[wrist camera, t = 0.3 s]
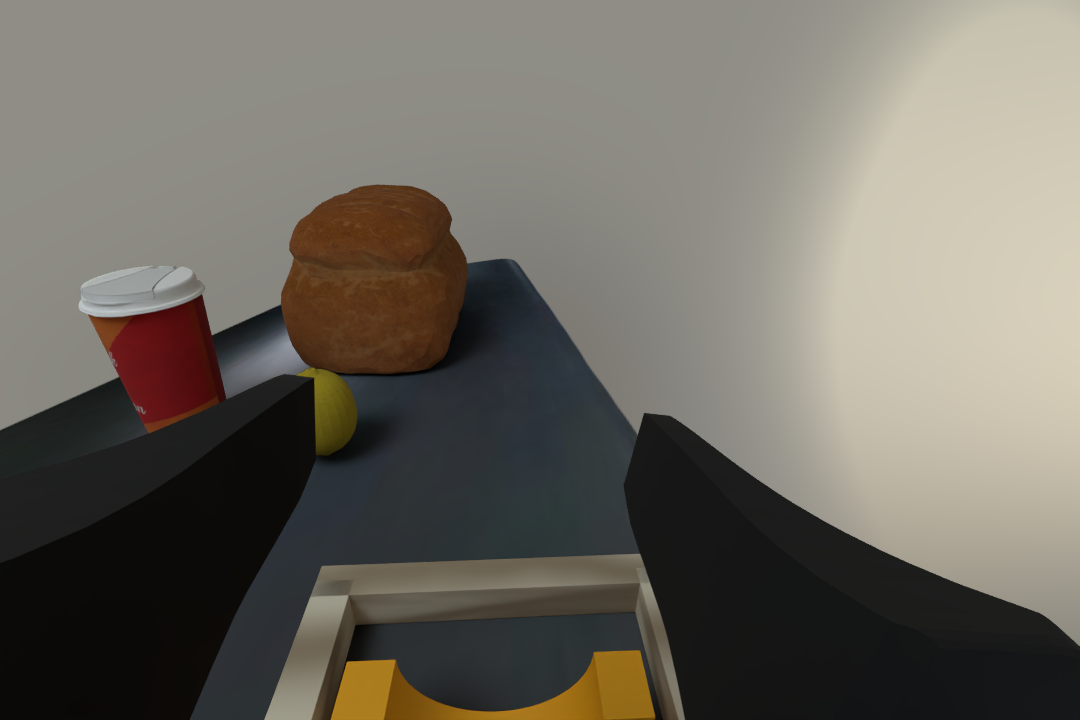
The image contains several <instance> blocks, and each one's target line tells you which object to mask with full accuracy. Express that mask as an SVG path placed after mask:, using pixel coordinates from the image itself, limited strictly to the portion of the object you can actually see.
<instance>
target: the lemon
mask: <svg viewBox="0 0 1080 720" xmlns="http://www.w3.org/2000/svg"><path fill="white" fill-rule="evenodd" d="M296 376H305V377H314V384H315V431H316V455H325V456H328V455H331V454H332V453H333V452H335V451H338V450H339V449H341V448H342V447H344V446H345V445H346V444H347V443H348V442H349V440H350V439H351V437H352V435H353V433H354V431H355V429H356V424H357V407H356V403H355V400H354V397H353V395H352V392H351V390H350V388H349V387H348V385H347V383H346V382H345V381H344V380H343V379H342V378H341V377H340V376H338V375H337V374H335V373H333V372H330V371H328V370H323V369H315V368H307V369H306V370H305V371H303V372H301V373H299V374H297V375H296Z"/></svg>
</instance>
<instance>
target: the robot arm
mask: <svg viewBox="0 0 1080 720" xmlns="http://www.w3.org/2000/svg"><path fill="white" fill-rule="evenodd" d="M315 460H316V431H315V384H314V377H305V376H296V375H286V374H283V375H281V376H278V377H275V378H273V379H270V380H268V381H266V382H263V383H261V384H259V385H257V386H255V387H253V388H250V389H248V390H246V391H244V392H242V393H240V394H238V395H236V396H233V397H231V398H229V399H227V400H225V401H223V402H221V403H218V404H216V405H214V406H212V407H210V408H208V409H206V410H203V411H201V412H199V413H196V414H194V415H192V416H189V417H187V418H185V419H182V420H180V421H177V422H175V423H173V424H170V425H168V426H165V427H163V428H161V429H158V430H156V431H154V432H151V433H149V434H146V435H143V436H141V437H138V438H136V439H133V440H130V441H127V442H124V443H122V444H119V445H116V446H113V447H110V448H107V449H104V450H101V451H98V452H95V453H92V454H89V455H86V456H83V457H80V458H76V459H73V460H70V461H66V462H63V463H59V464H55V465H52V466H48V467H44V468H41V469H37V470H33V471H30V472H26V473H23V474H19V475H15V476H12V477H8V478H4V479H1V480H0V720H190V718H191V715H192V713H193V710H194V708H195V706H196V703H197V701H198V699H199V696H200V694H201V691H202V689H203V687H204V684H205V682H206V680H207V677H208V675H209V672H210V670H211V668H212V665H213V663H214V661H215V659H216V656H217V654H218V652H219V650H220V647H221V645H222V643H223V641H224V638H225V636H226V634H227V632H228V629H229V627H230V625H231V623H232V620H233V618H234V616H235V614H236V612H237V610H238V608H239V606H240V604H241V602H242V600H243V598H244V597H245V595H246V593H247V591H248V589H249V587H250V586H251V584H252V582H253V580H254V579H255V577H256V575H257V573H258V572H259V570H260V568H261V567H262V565H263V563H264V561H265V560H266V558H267V556H268V554H269V553H270V551H271V549H272V547H273V546H274V544H275V542H276V541H277V539H278V537H279V535H280V534H281V532H282V530H283V528H284V527H285V525H286V523H287V521H288V519H289V518H290V516H291V514H292V512H293V511H294V509H295V507H296V505H297V503H298V502H299V500H300V498H301V495H302V493H303V491H304V488H305V486H306V483H307V481H308V478H309V476H310V473H311V470H312V468H313V465H314V463H315ZM624 490H625V496H626V502H627V508H628V513H629V518H630V523H631V527H632V530H633V533H634V536H635V539H636V543H637V546H638V549H639V552H640V555H641V558H642V561H643V564H644V567H645V570H646V572H647V575H648V578H649V581H650V584H651V587H652V590H653V593H654V596H655V599H656V602H657V605H658V608H659V611H660V614H661V617H662V621H663V624H664V627H665V631H666V634H667V638H668V643H669V647H670V652H671V656H672V660H673V665H674V669H675V674H676V678H677V683H678V688H679V693H680V698H681V702H682V707H683V712H684V717H685V720H1080V646H1078V644H1076V643H1075V642H1074V641H1073V640H1072V639H1071V638H1070V637H1069V636H1068V635H1066V634H1065V633H1064V632H1063V631H1062V630H1061V629H1060V628H1059V627H1058V626H1057V625H1055V624H1054V623H1053V622H1052V621H1050V620H1049V619H1048V618H1046V617H1045V616H1043V615H1042V614H1040V613H1038V612H1035V611H1032V610H1029V609H1027V608H1024V607H1021V606H1018V605H1016V604H1013V603H1010V602H1007V601H1004V600H1002V599H999V598H996V597H993V596H990V595H988V594H985V593H982V592H979V591H977V590H974V589H971V588H968V587H966V586H963V585H960V584H958V583H955V582H953V581H950V580H948V579H945V578H942V577H941V576H938V575H936V574H933V573H931V572H929V571H926V570H924V569H922V568H919V567H917V566H914V565H912V564H909V563H907V562H905V561H903V560H900V559H899V558H896V557H894V556H892V555H889V554H887V553H885V552H883V551H881V550H879V549H877V548H875V547H873V546H871V545H869V544H867V543H865V542H863V541H861V540H859V539H857V538H855V537H853V536H851V535H849V534H847V533H845V532H843V531H841V530H839V529H837V528H836V527H834V526H832V525H830V524H828V523H826V522H824V521H823V520H821V519H819V518H818V517H816V516H814V515H813V514H811V513H809V512H807V511H806V510H804V509H802V508H801V507H799V506H797V505H795V504H794V503H792V502H791V501H789V500H787V499H786V498H784V497H782V496H781V495H780V494H778V493H777V492H775V491H774V490H772V489H771V488H769V487H768V486H766V485H765V484H763V483H761V482H760V481H759V480H757V479H756V478H754V477H753V476H751V475H750V474H749V473H747V472H746V471H745V470H743V469H742V468H740V467H739V466H738V465H736V464H735V463H734V462H732V461H731V460H730V459H728V458H727V457H726V456H724V455H723V454H722V453H720V452H719V451H718V450H716V449H715V448H714V447H713V446H711V445H710V444H709V443H707V442H706V441H705V440H703V439H702V438H701V437H700V436H698V435H697V434H696V433H694V432H693V431H692V430H690V429H689V428H687V427H686V426H685V425H683V424H682V423H681V422H679V421H677V420H676V419H674V418H673V417H671V416H665V415H657V414H648V413H644V416H643V419H642V423H641V426H640V430H639V433H638V437H637V440H636V444H635V447H634V451H633V454H632V458H631V462H630V465H629V469H628V472H627V476H626V479H625V483H624Z"/></svg>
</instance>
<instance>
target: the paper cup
mask: <svg viewBox="0 0 1080 720" xmlns="http://www.w3.org/2000/svg"><path fill="white" fill-rule="evenodd" d="M204 290H205V286H204V284H203V283H202V282H200V281H199V280H197V278H196V276H195V274H194V272H193V271H192V270H190V269H189V268H186V267H180V268H178V269H176V267H173V266H159V268H156V267H154V266H144V267H137V268H130V269H125V270H119V271H115V272H111V273H107V274H104V275H100V276H98V277H95V278H93V279H91V280H88V281H87V282H85V283H84V284H83V285H82V286H81V289H80V292H81V298H82V299H81V300H80V302H79V309H80V311H82V312H83V313H86V314H88V315H89V317H90V319H91V321H92V323H93V325H94V327H95V329H96V331H97V333H98V335H99V337H100V339H101V341H102V343H103V345H104V347H105V349H106V351H107V353H108V355H109V357H110V359H111V361H112V363H113V365H114V367H115V369H116V371H117V373H118V375H119V377H120V379H121V381H122V383H123V385H124V387H125V389H126V391H127V392H128V394H129V396H130V398H131V400H132V402H133V404H134V406H135V408H136V410H137V412H138V414H139V416H140V418H141V420H142V422H143V424H144V426H145V428H146V429H147V431H148V433H151V432H154V431H156V430H158V429H161V428H163V427H165V426H168V425H170V424H173V423H175V422H177V421H180V420H182V419H185V418H187V417H189V416H192V415H194V414H196V413H199V412H201V411H203V410H206V409H208V408H210V407H212V406H214V405H216V404H218V403H221V402H223V401H225V400H226V395H225V391H224V386H223V382H222V378H221V373H220V369H219V365H218V360H217V356H216V352H215V347H214V343H213V339H212V335H211V331H210V326H209V322H208V318H207V313H206V309H205V305H204V300H203V296H202V293H203V292H204Z"/></svg>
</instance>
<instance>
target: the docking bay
mask: <svg viewBox="0 0 1080 720" xmlns="http://www.w3.org/2000/svg"><path fill="white" fill-rule="evenodd" d="M622 612H636V616H637V620H638V624H639V628H640V632H641V636H642V640H643V644H644V648H645V652H646V655H647V659H648V663H649V667H650V671H651V675H652V679H653V683H654V687H655V691H656V695H657V698H658V702H659V706H660V710H661V714H662V718H663V720H685V717H684V712H683V707H682V702H681V698H680V693H679V688H678V683H677V678H676V674H675V669H674V665H673V660H672V656H671V652H670V647H669V643H668V638H667V634H666V631H665V627H664V624H663V621H662V617H661V614H660V611H659V608H658V605H657V602H656V599H655V596H654V593H653V590H652V587H651V584H650V581H649V578H648V575H647V572H646V570H645V567H644V564H643V561H642V558H641V555H640V554H626V555H600V556H574V557H548V558H522V559H496V560H470V561H444V562H418V563H392V564H366V565H340V566H322V568H321V570H320V573H319V576H318V578H317V581H316V584H315V586H314V589H313V592H312V594H311V597H310V600H309V602H308V605H307V608H306V610H305V613H304V616H303V618H302V621H301V624H300V627H299V629H298V632H297V635H296V637H295V640H294V643H293V645H292V648H291V651H290V653H289V656H288V659H287V661H286V664H285V667H284V669H283V672H282V675H281V677H280V680H279V683H278V685H277V688H276V691H275V693H274V696H273V699H272V701H271V704H270V707H269V709H268V712H267V715H266V717H265V720H330V717H331V713H332V710H333V706H334V702H335V699H336V695H337V691H338V688H339V684H340V680H341V676H342V673H343V669H344V665H345V662H346V658H347V654H348V651H349V647H350V643H351V640H352V636H353V632H354V628H355V625H364V624H386V623H407V622H429V621H450V620H472V619H493V618H515V617H536V616H558V615H579V614H601V613H622Z"/></svg>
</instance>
